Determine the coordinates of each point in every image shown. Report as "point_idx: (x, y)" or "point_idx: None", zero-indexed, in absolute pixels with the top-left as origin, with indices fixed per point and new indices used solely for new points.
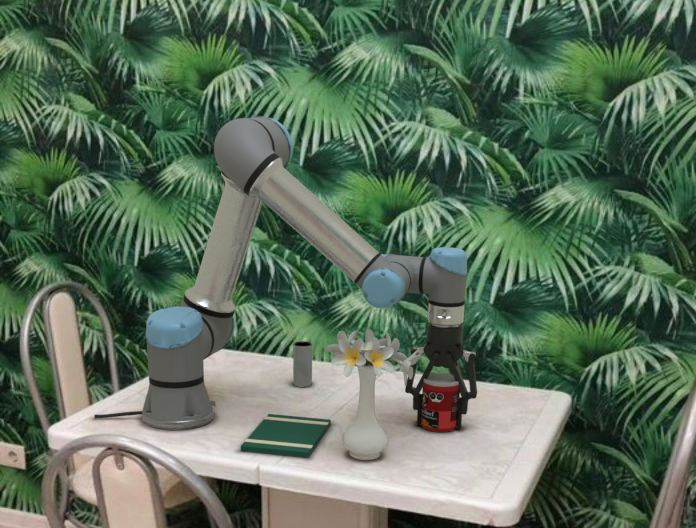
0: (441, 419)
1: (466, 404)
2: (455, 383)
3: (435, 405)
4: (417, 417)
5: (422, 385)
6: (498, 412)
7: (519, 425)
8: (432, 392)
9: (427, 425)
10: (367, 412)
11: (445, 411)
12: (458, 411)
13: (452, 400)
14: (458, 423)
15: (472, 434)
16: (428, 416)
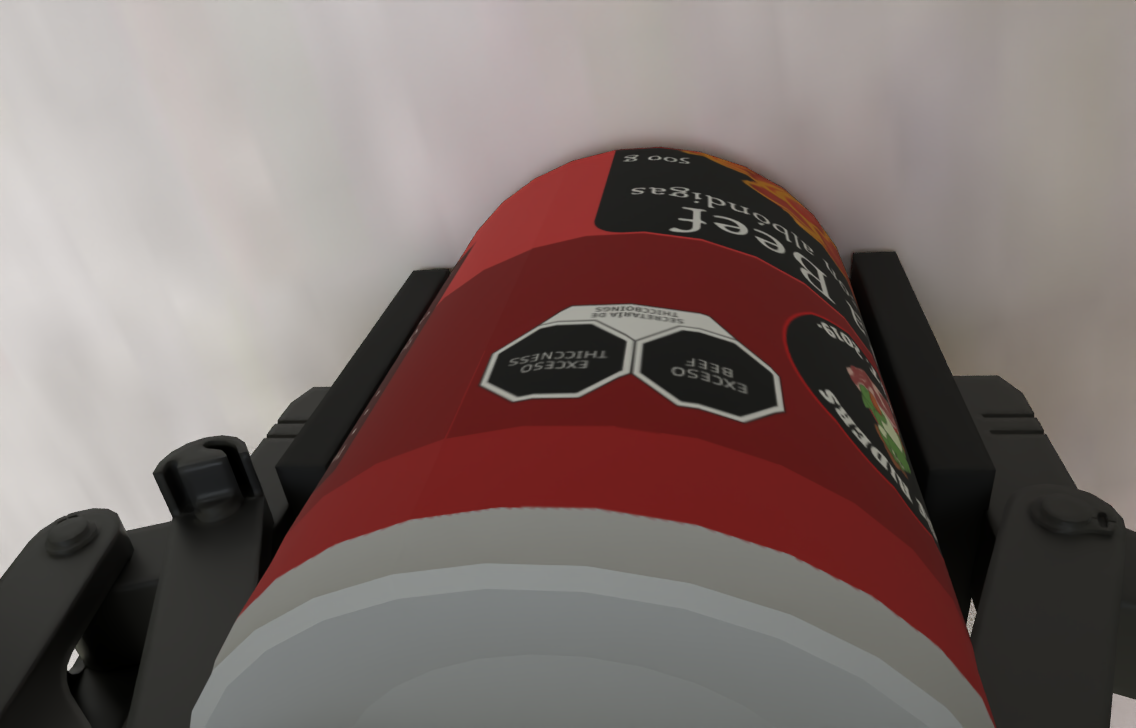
0: (568, 198)
1: (254, 465)
2: (212, 674)
3: (649, 276)
4: (912, 297)
5: (989, 659)
6: None
7: (43, 515)
8: (720, 420)
9: (758, 178)
10: None
11: (499, 260)
12: (372, 375)
13: (371, 402)
14: (412, 301)
15: (274, 209)
16: (756, 217)
